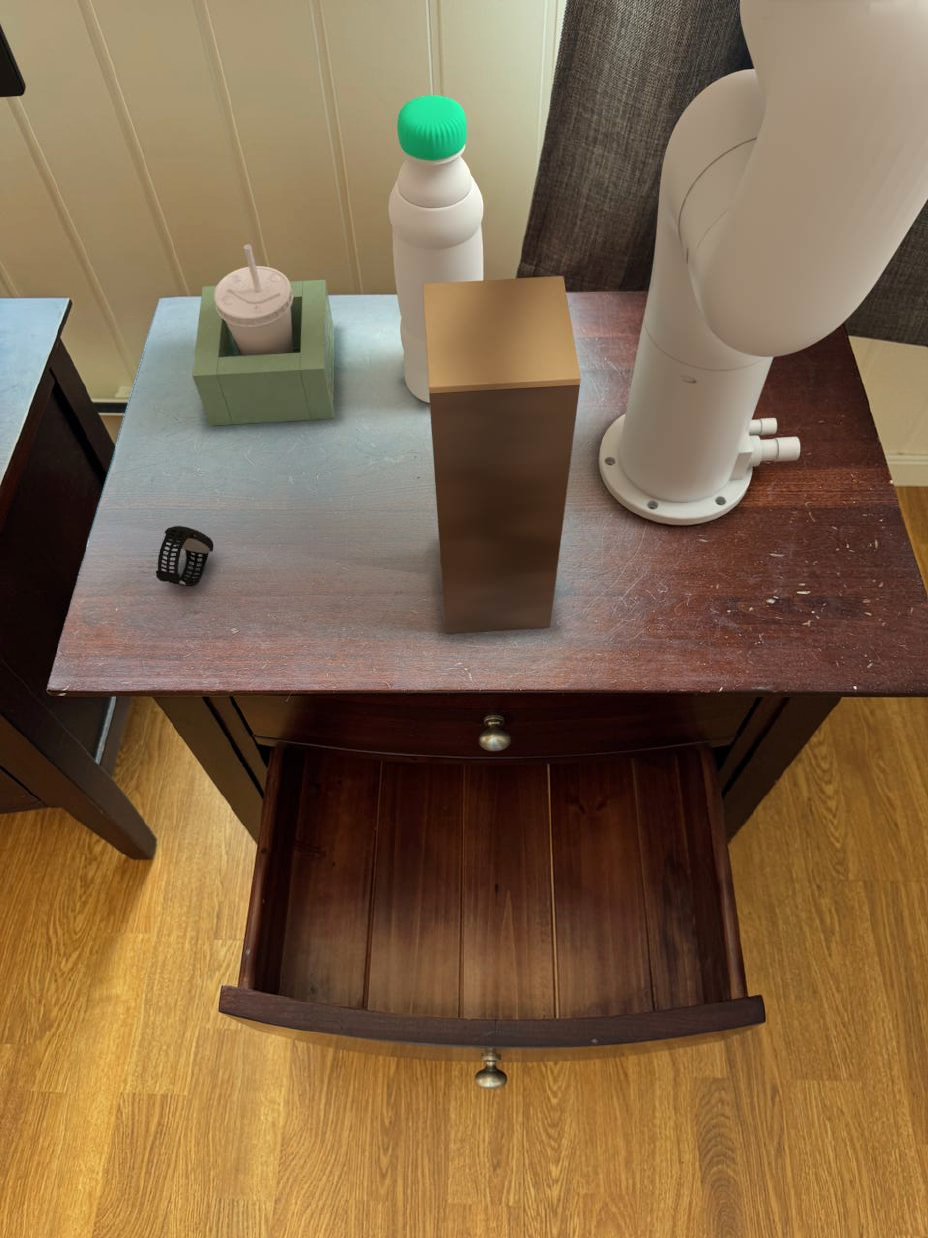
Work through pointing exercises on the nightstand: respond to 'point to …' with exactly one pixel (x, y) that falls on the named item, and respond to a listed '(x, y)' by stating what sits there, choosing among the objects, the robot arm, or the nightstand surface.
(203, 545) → the smartwatch
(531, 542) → the riser
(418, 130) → the water bottle
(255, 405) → the stand
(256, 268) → the smoothie
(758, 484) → the nightstand surface
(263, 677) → the nightstand surface
